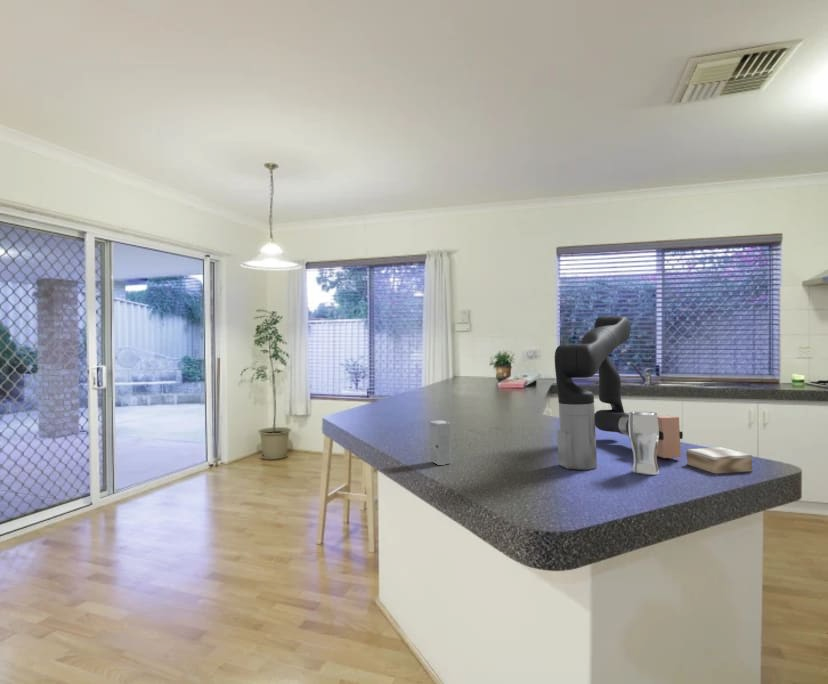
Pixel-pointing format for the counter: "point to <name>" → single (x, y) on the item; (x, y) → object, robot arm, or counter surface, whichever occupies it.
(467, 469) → the counter surface
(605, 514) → the counter surface
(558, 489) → the counter surface
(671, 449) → the pillar
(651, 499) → the counter surface
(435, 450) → the skincare box
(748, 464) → the base slab
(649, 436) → the beer glass
